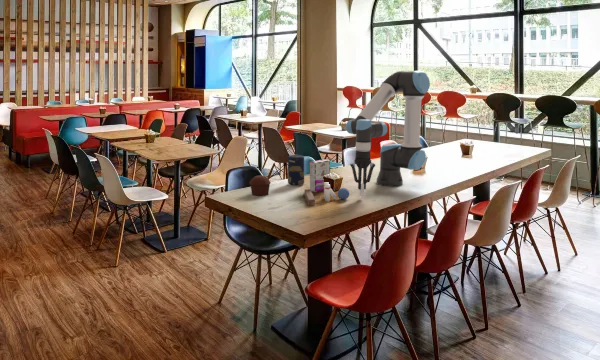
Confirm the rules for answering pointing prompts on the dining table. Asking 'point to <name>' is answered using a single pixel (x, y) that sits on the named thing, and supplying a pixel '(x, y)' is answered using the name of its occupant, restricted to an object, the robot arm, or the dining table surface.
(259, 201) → the dining table surface
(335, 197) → the front pin
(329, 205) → the dining table surface
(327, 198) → the pin
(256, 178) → the muffin
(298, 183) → the canister
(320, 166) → the candy bar box
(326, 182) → the pin
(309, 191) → the back wall
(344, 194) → the ball
